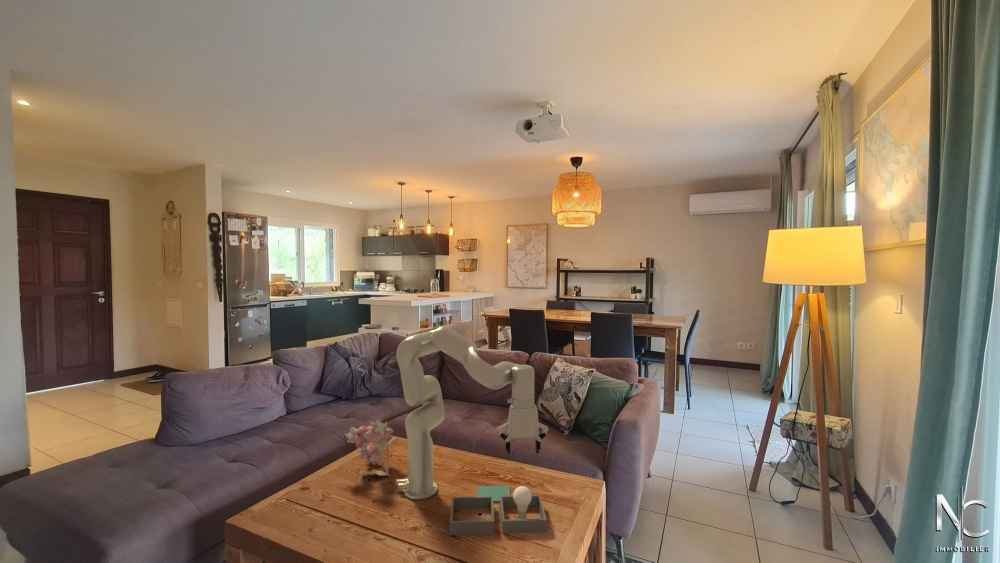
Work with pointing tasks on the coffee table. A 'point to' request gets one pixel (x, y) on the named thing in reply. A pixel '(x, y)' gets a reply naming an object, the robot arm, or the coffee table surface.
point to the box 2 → (523, 524)
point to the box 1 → (471, 526)
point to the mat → (494, 492)
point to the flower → (379, 439)
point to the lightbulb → (522, 500)
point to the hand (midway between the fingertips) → (522, 452)
